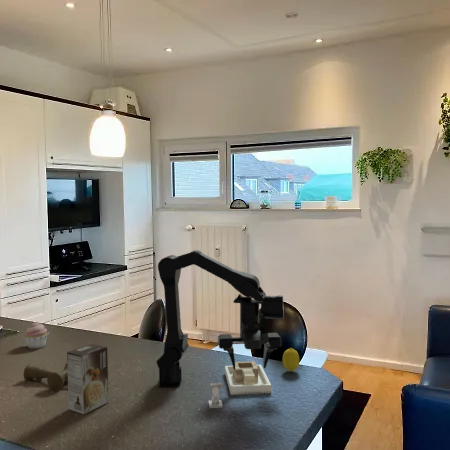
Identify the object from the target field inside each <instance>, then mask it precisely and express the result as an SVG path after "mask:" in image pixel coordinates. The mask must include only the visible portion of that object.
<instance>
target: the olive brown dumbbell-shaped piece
mask: <svg viewBox="0 0 450 450" xmlns="http://www.w3.org/2000/svg"><path fill="white" fill-rule="evenodd" d="M23 379H24V380H25V381H27V382H28V381H31V380H36V381H38V382H39V381H41V380H43V379H46V382H47V383H46V384H47V385H48V388H49V389H51V390H54V391H59V390H61V389H63V388H62V387H63V386H64V383H65V382H66V381H68V367H67V362H66V363H65V365H64V366H63V369H62V370H61V371H52V370H48V369H46V368H45V367H44V366H43V365H42V366H36V365H35V364H33V363H30V364H28V365H26V366H25V368H24V370H23Z"/></svg>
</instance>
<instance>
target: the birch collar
mask: <svg viewBox="0 0 450 450" xmlns="http://www.w3.org/2000/svg"><path fill="white" fill-rule="evenodd" d="M257 365H258V364H257V363H256V361H255V360H249V361H248V360H247V361H235V369H234V368H233V375H234V378H235V381H236V382H242V383H243V385H255V382H257V381H258V367H257Z"/></svg>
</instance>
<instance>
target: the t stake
mask: <svg viewBox="0 0 450 450" xmlns="http://www.w3.org/2000/svg"><path fill="white" fill-rule="evenodd" d="M223 386H224V385H223V382H213V383H211V382H210V388H211V400H209V399H208V408H209V409H221V408H222V409H223V401H222V399H220V388H223Z"/></svg>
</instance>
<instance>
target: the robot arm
mask: <svg viewBox="0 0 450 450" xmlns="http://www.w3.org/2000/svg"><path fill="white" fill-rule="evenodd" d="M193 265H195V266H197V267H198V268H200V269H203V270H204V271H206V272H208V273H210V274H211V275H213V276H216V277H217V278H219V279H221V280H224V281H225V282H227V284H229V285H230V286H231V287H233V288H234V290H236V291H237V292H238V293H239V294H238V295H237V297H235V298H234V299H233V304H239V336H238V337H236V336H235V337H232V334H231V333H225V334H222V333H221V334H219V335H218V336H217V343H218V345H217V346H218V348H219V349H222V350H223V351H224V352H227V354H228V356H229V357H230V358H229V359H230V362H231V366H233V368H234V369H235V362H236V360H235V353H234V351H235V350H234V347H233V346H234V345H244V348H245V349H246V350H254V349H256V350H261V349H262V345H264V346H263V357H262V359H263V360H262V362H263V363H262V364H263V366H262V368H263V369H266V367H267V364H268V362H269V359H270V357H271V354H272V352H273V351H274V350H278V348H279V347H282V346H283V345H282V344H283V343H282V338H281V336H280V334H278V332H268V330H261V329H260V315H262V317H264V319H273V320H274V319H278V320H284V319H285V317H284V316H285V313H284V312H285V311H284V310H285V305H284V296H283V295H267V294H266V292H265V291H264V290H263V288H262V287H261V284H260V280H259V278H258V277H257V276H256V275H254V274H251V273H248V272H245V271H239V270H236V269H234V268H232V267H229V266H228V265H226V264H224V263H222V262H220V261H218V260H216V259H214V258H213V257H211V256H209V255H206V254H205V253H203V252H202V251H200V250H199V249H195V250H192V251H190V252H187V253H184V254H181V255H179V256H178V255H177V256H176V255H174V254H171V255H170V254H169V255H168V256H166V257H163V258H161V259H160V260H159V262H158V264H157V270H158V274H159V277H160V281H161V283H162V285H163V290H164V304H165V305H164V306H165V318H166V319H165V321H166V335H165V339H164V347H163V353H162V354H161V356H160V357H159V358H157V360H156V361H155V362H156V365H157V368H158V388H168V387H171V388H173V387H180V386H181V383H182V382H183V381H182V366H180V360H181V359H182V358H183V356H184V355H185V354H186V352H187V350H188V348H189V347H190V345H189V342H188V338H189V333H184V332H183V330H182V323H181V322H182V321H181V306H180V294H179V293H180V292H179V282H180V278H181V274H182V269H184V268H187V267H190V266H193Z"/></svg>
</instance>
